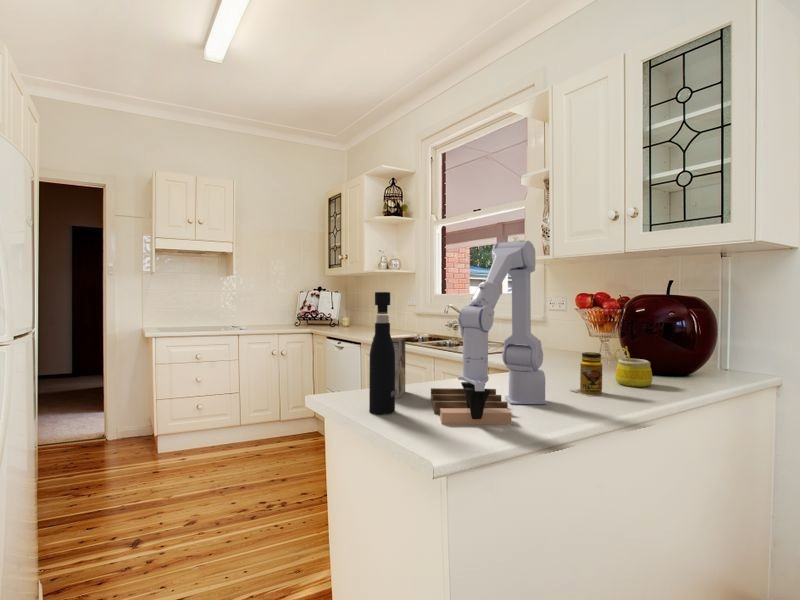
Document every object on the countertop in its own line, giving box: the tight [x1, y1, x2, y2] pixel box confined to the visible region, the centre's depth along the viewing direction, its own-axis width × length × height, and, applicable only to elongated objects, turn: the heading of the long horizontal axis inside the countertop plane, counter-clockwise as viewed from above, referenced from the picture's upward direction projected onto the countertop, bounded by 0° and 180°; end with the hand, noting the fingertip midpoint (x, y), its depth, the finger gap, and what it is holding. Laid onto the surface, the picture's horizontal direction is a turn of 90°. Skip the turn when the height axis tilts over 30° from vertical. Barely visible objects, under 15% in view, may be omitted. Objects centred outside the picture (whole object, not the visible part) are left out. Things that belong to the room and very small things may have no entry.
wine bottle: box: [368, 291, 396, 416], centre depth 121 cm, size 6×6×30 cm
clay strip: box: [439, 408, 512, 425], centre depth 112 cm, size 16×4×3 cm, turn 91°
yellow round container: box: [614, 345, 653, 388], centre depth 157 cm, size 13×11×12 cm
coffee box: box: [391, 337, 406, 399], centre depth 141 cm, size 9×6×16 cm
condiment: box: [569, 351, 609, 397], centre depth 145 cm, size 7×8×12 cm
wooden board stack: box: [430, 387, 509, 415], centre depth 127 cm, size 18×16×3 cm
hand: (474, 415), depth 112 cm, fingers open, 5 cm apart
